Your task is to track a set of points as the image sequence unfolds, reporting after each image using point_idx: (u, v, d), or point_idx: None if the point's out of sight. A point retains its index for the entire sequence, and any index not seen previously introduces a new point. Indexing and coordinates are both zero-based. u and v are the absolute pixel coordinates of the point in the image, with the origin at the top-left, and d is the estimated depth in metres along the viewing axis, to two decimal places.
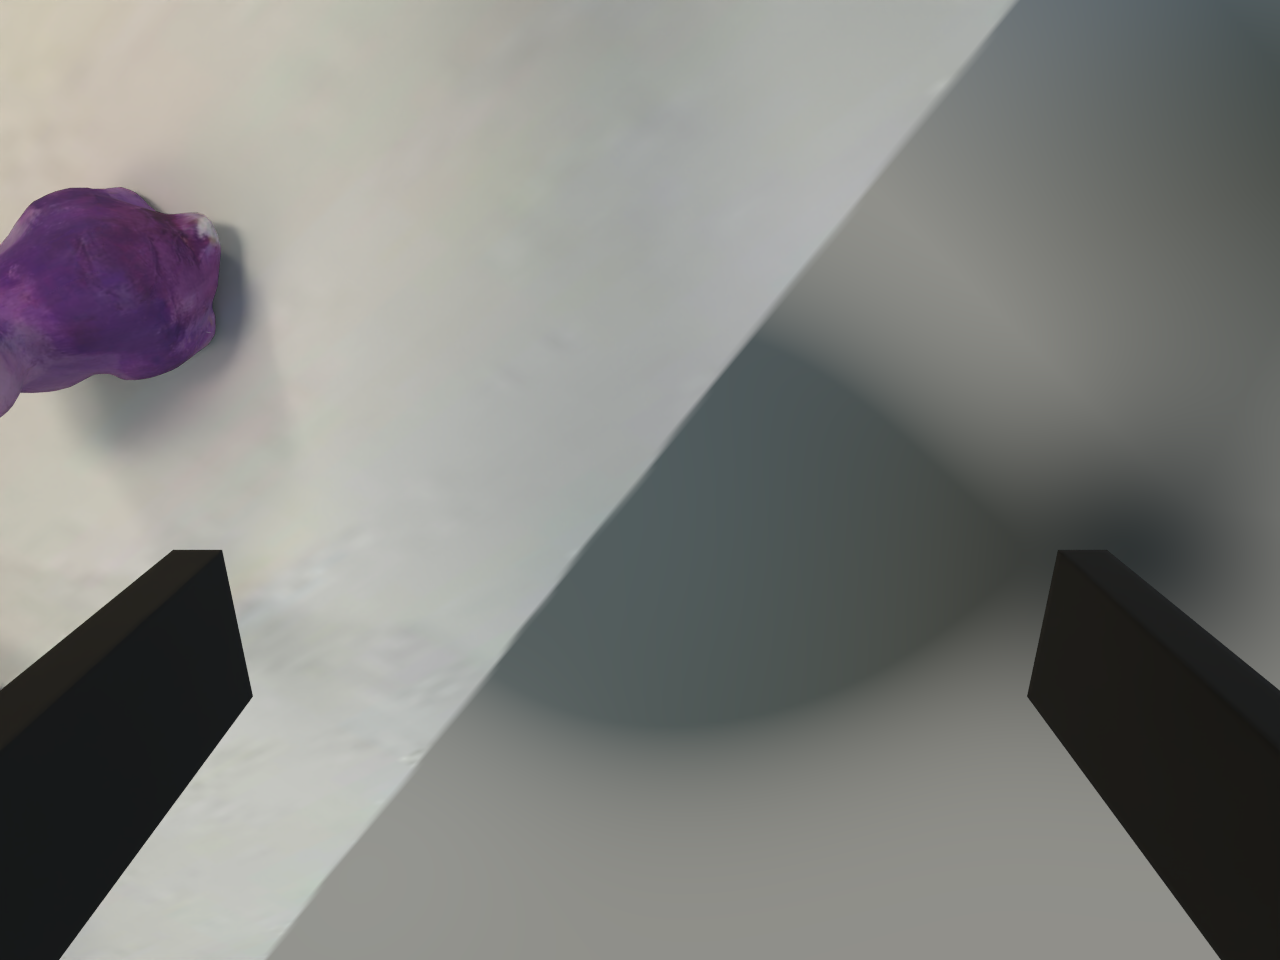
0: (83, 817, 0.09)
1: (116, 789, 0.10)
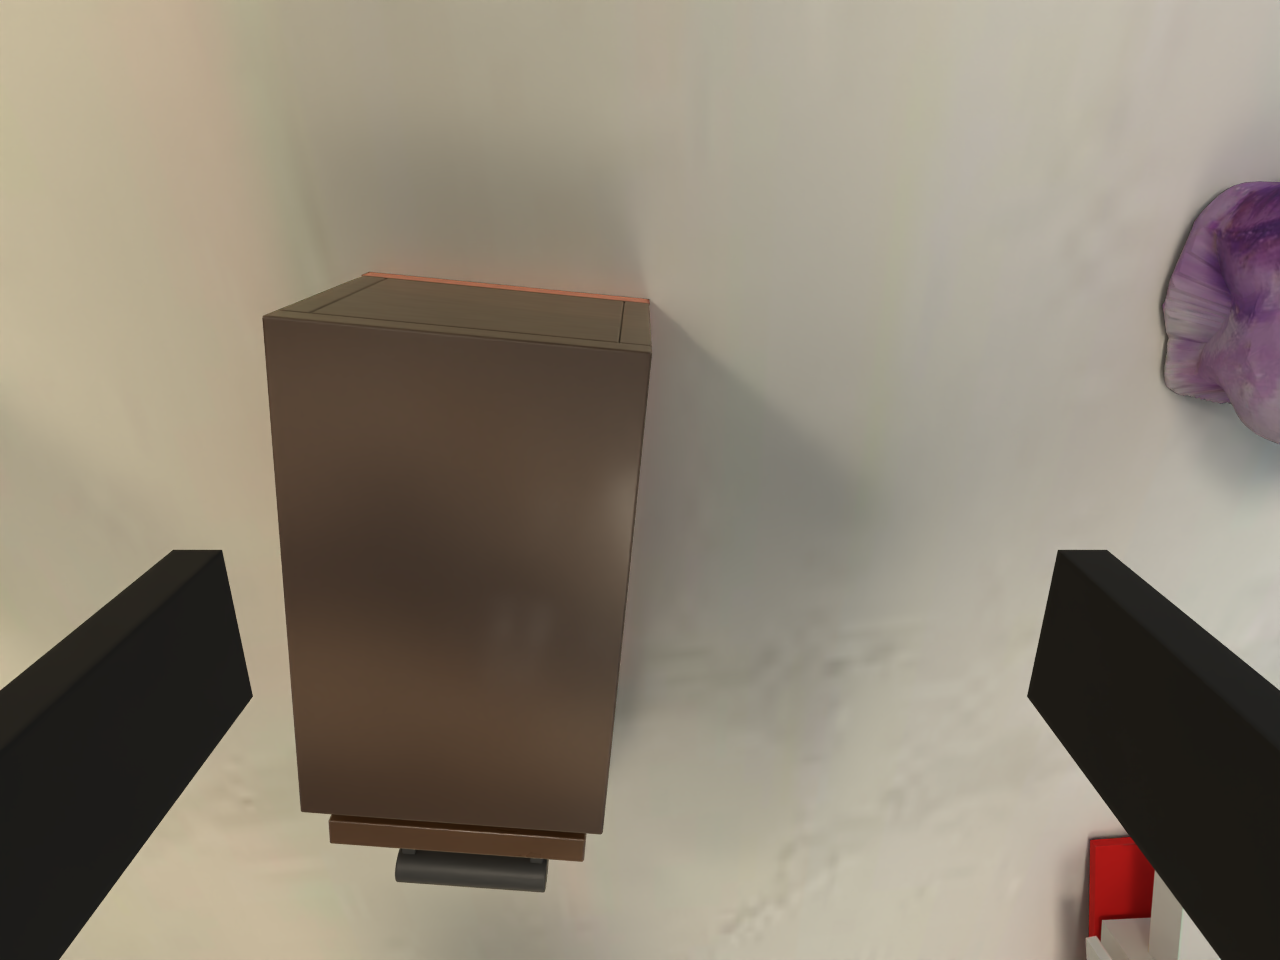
0: (84, 817, 0.09)
1: (116, 789, 0.10)
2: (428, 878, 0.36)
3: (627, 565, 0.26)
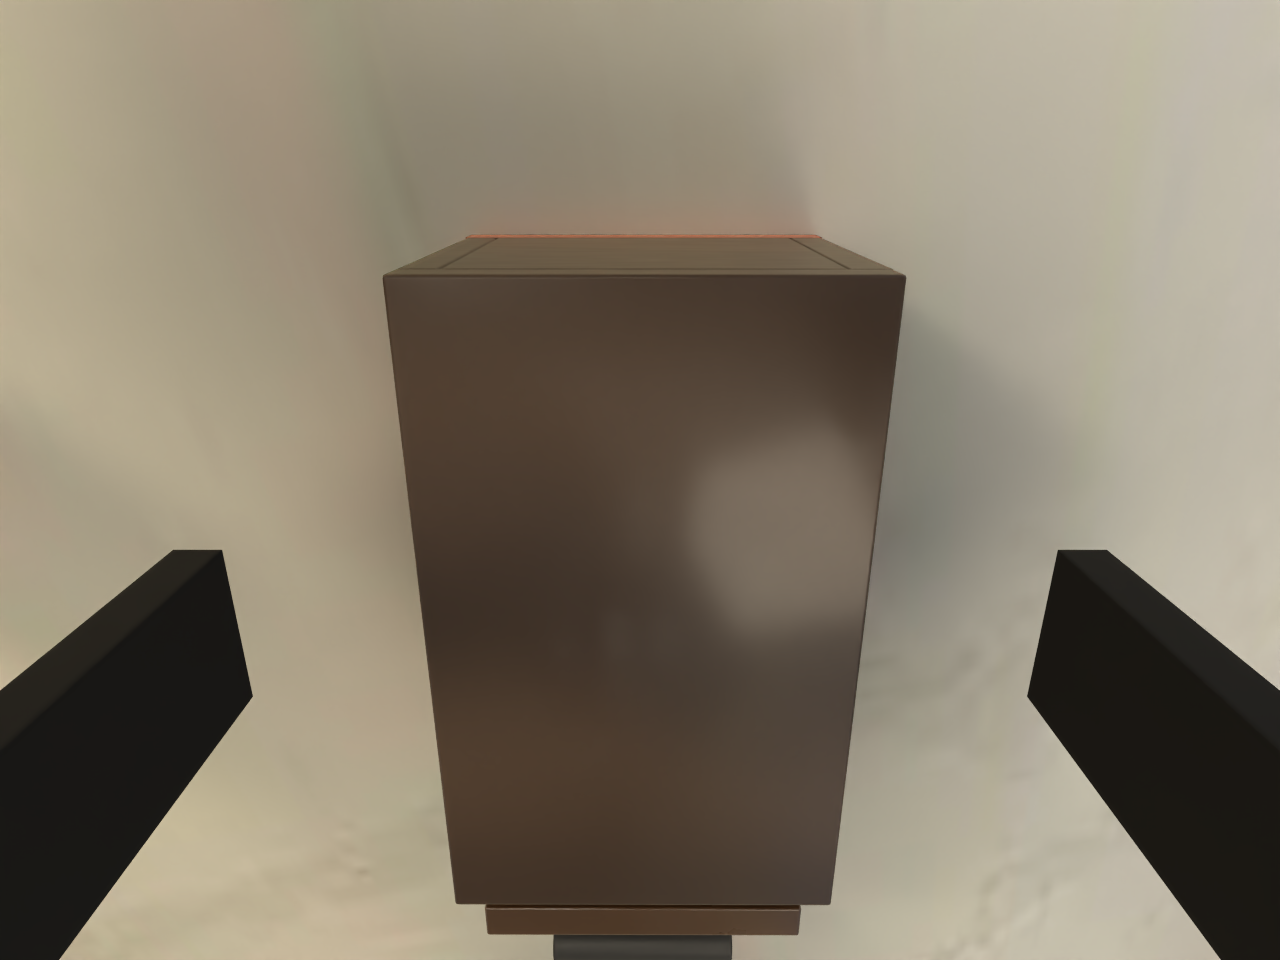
0: (84, 817, 0.09)
1: (116, 789, 0.10)
2: (593, 956, 0.30)
3: (869, 566, 0.20)
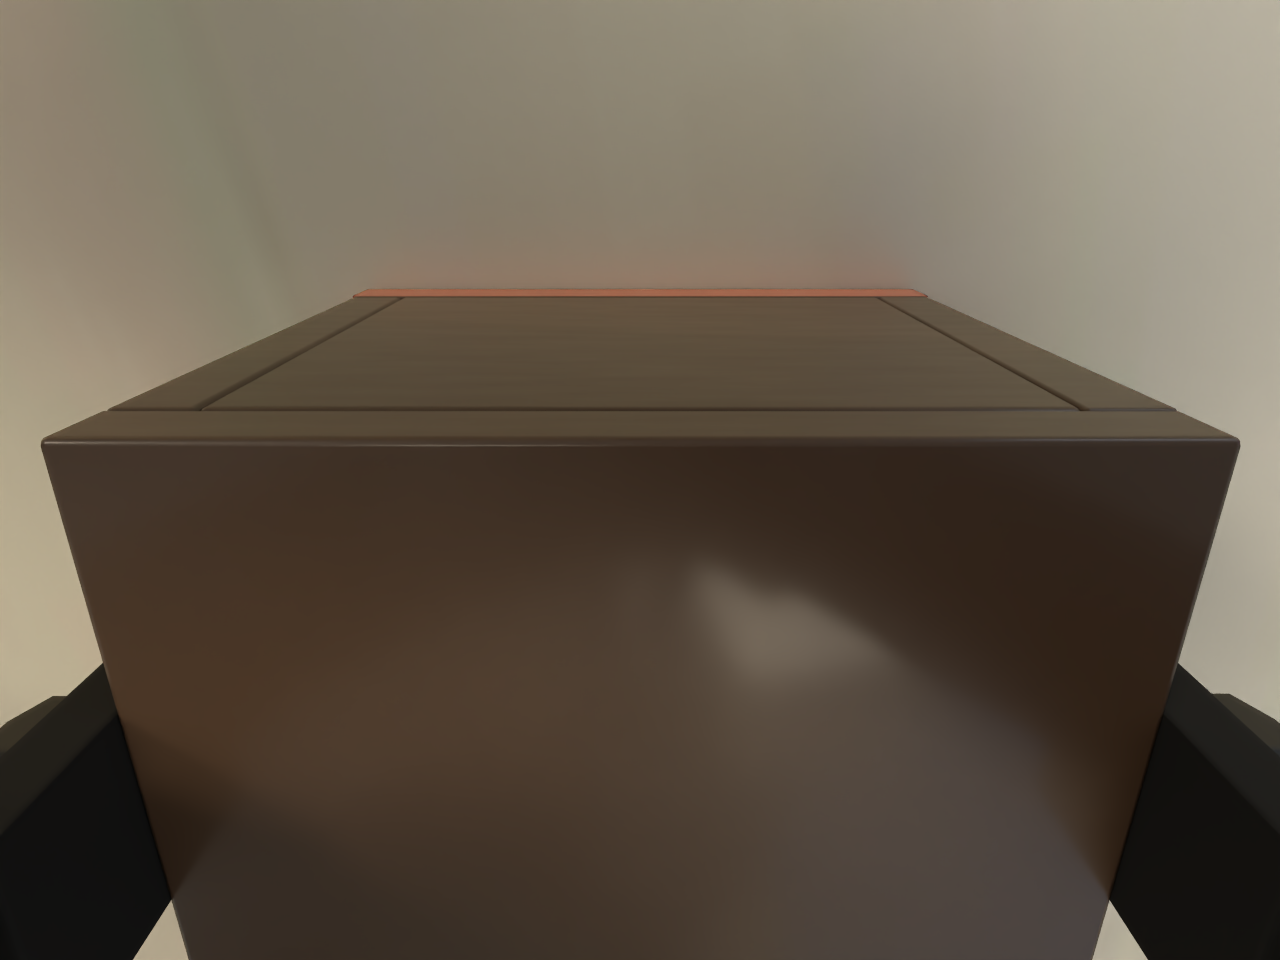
0: None
1: None
2: None
3: None
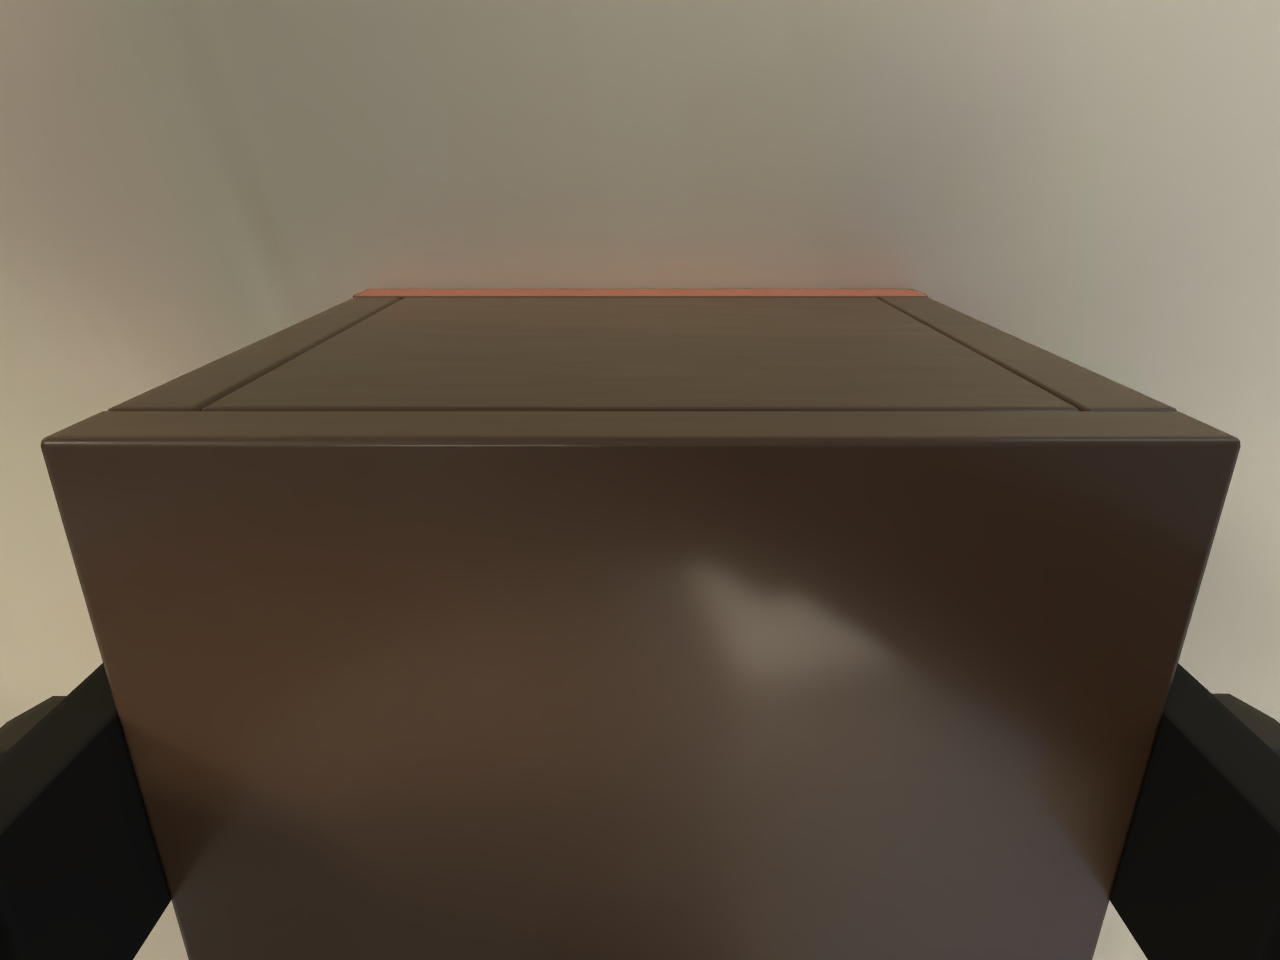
0: None
1: None
2: None
3: None
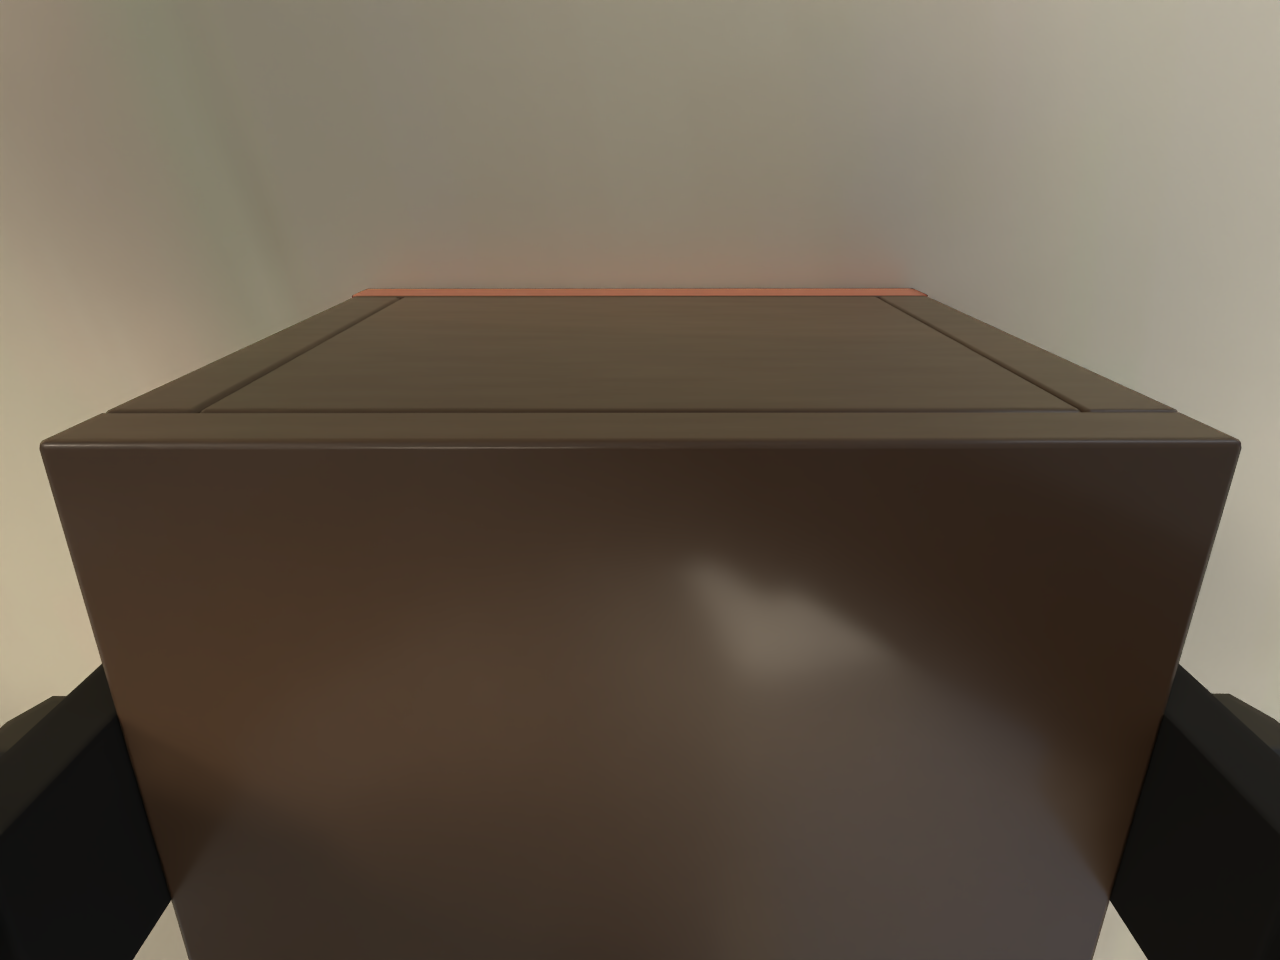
0: None
1: None
2: None
3: None
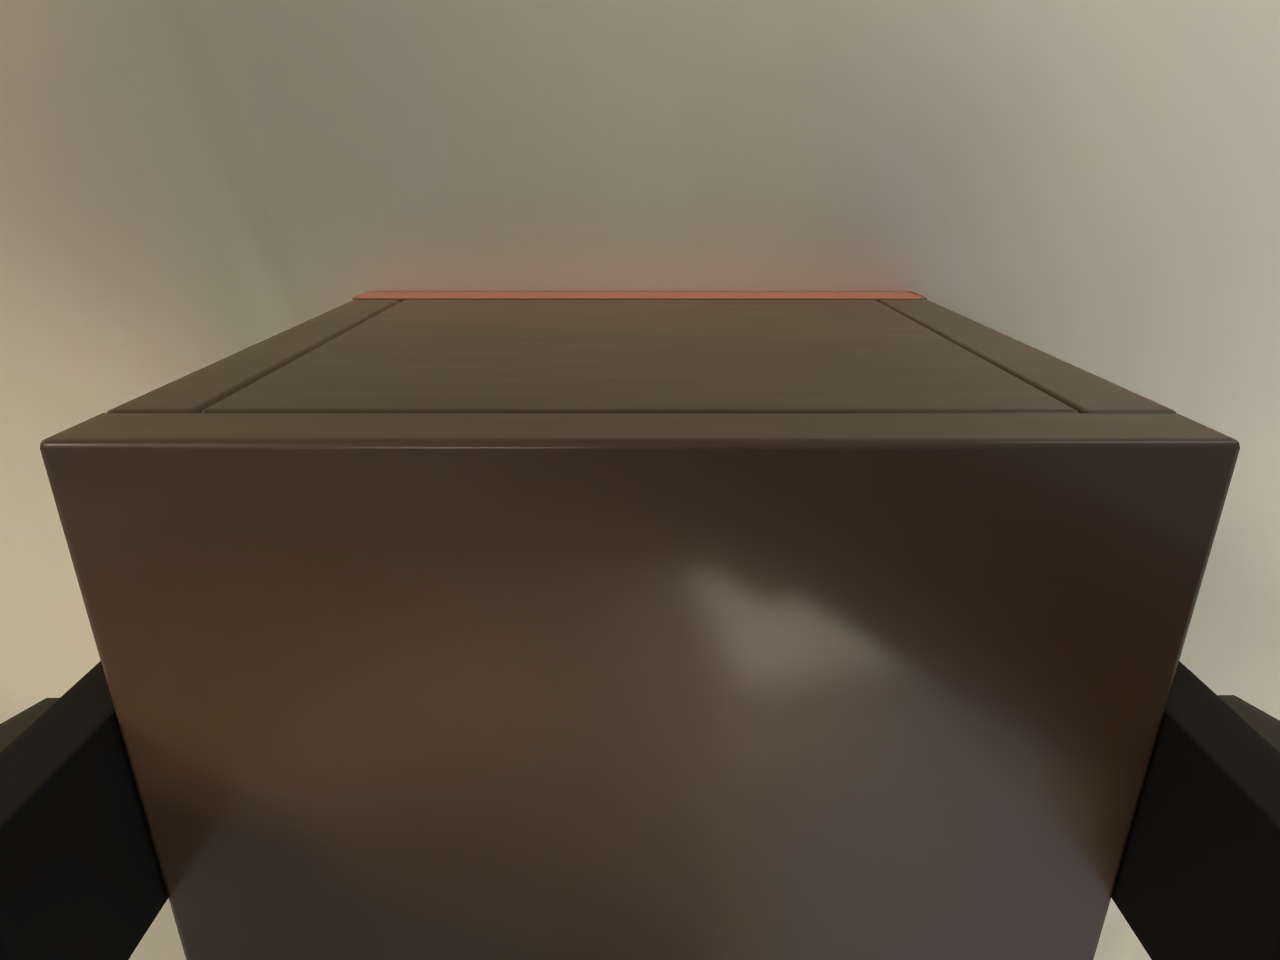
0: None
1: None
2: None
3: None
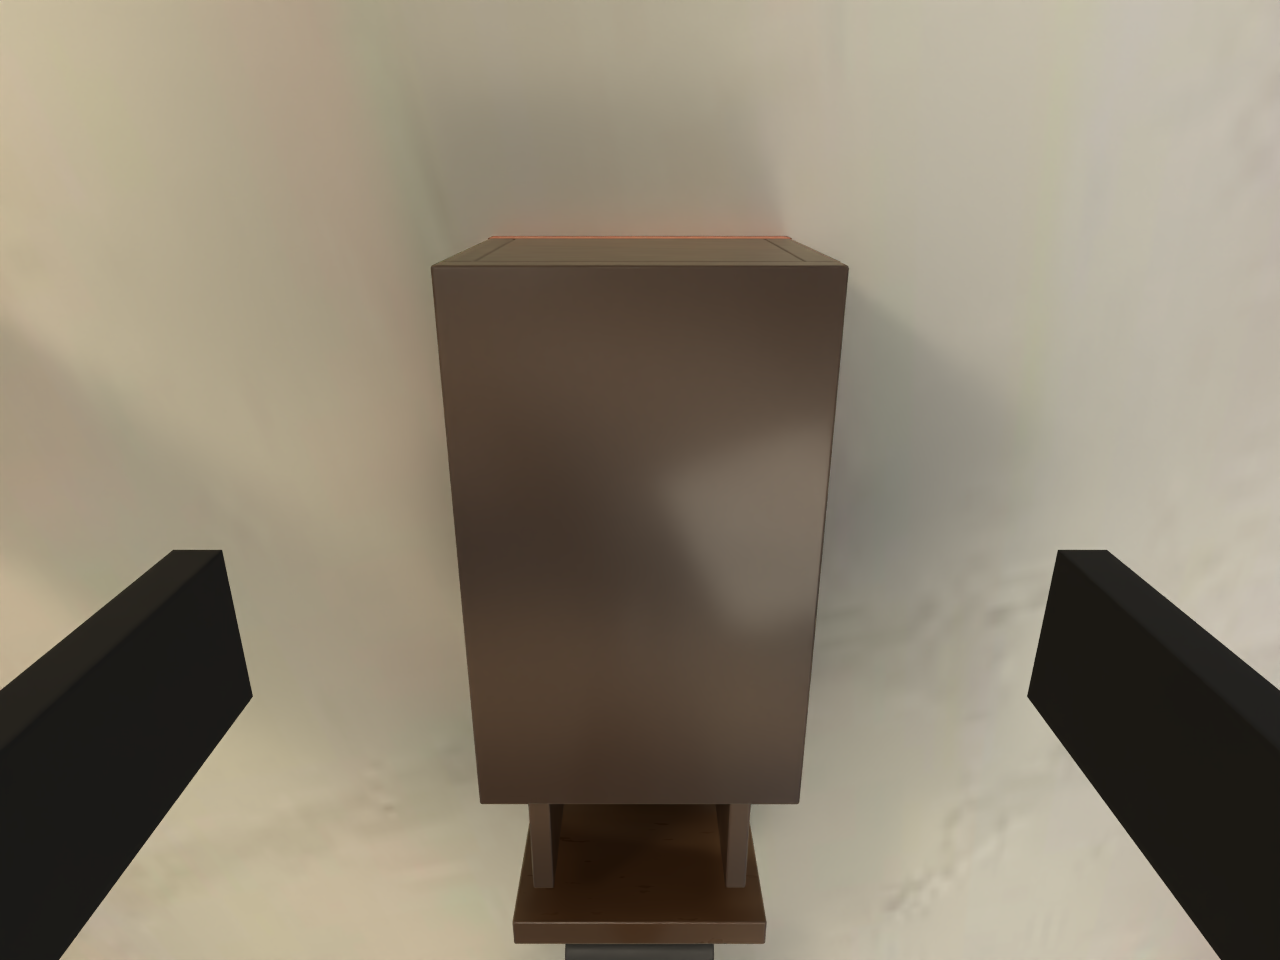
0: (83, 817, 0.09)
1: (116, 789, 0.10)
2: None
3: (824, 505, 0.24)
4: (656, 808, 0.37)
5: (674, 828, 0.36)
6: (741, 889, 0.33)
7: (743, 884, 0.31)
